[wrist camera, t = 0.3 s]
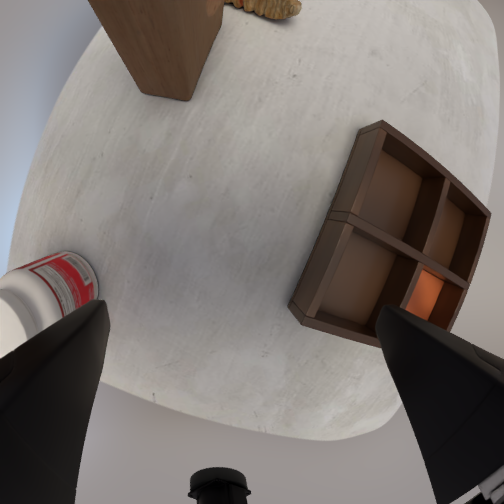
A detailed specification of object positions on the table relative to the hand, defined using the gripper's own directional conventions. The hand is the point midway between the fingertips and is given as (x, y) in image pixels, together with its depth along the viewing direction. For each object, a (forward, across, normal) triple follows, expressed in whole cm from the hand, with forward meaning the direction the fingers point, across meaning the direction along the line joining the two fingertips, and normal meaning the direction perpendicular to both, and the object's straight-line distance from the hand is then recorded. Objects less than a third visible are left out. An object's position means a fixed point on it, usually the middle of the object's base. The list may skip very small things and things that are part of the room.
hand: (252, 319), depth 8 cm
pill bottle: (+14, +14, +8) cm, 21 cm away
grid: (+15, -17, +4) cm, 22 cm away
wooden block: (+19, +5, -12) cm, 23 cm away
